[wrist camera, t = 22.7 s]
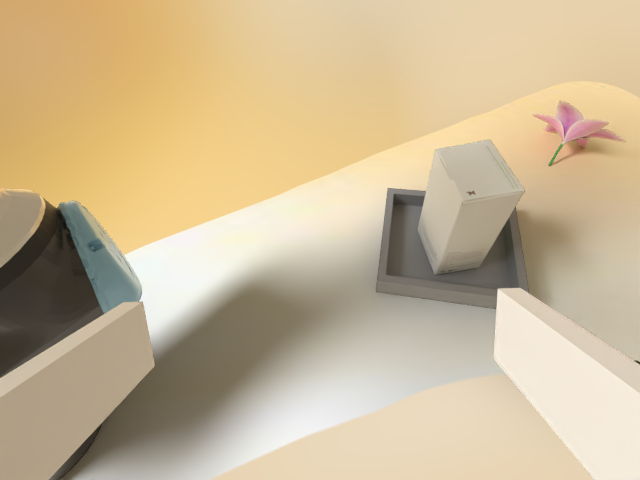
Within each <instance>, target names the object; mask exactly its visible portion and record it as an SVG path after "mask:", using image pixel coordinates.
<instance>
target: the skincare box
mask: <svg viewBox="0 0 640 480" xmlns="http://www.w3.org/2000/svg"><path fill="white" fill-rule="evenodd" d="M524 192H525V189H524V188H523V186H522V185H521V184H520V182H519V181H518V179H517V178H516V176H515V175H514V174H513V172H512V171H511V169H510V168H509V166H508V165H507V163H506V162H505V160H504V159H503V157H502V156H501V154H500V153H499V152H498V150H497V149H496V147H495V146H494V144H493V143H492V141H491V140H484V141H479V142H473V143H469V144H464V145H458V146H452V147H446V148H440V149H435V152H434V157H433V161H432V166H431V171H430V175H429V180H428V185H427V189H426V194H425V198H424V203H423V208H422V212H421V217H420V221H419V226H418V232H419V235H420V238H421V240H422V243H423V246H424V248H425V251H426V254H427V256H428V259H429V262H430V264H431V267H432V269H433V272H434V274H435V275H437V274H443V273H450V272H456V271H462V270H467V269H473V268H479V267H480V265H481V264H482V262H483V260H484V258H485V257H486V255H487V253H488V252H489V250H490V248H491V247H492V245H493V243H494V242H495V240H496V238H497V237H498V235H499V233H500V232H501V230H502V228H503V227H504V225H505V223H506V221H507V220H508V218H509V217H510V215H511V213H512V212H513V210H514V208H515V207H516V205H517V203H518V201H519V200H520V198H521V197H522V195H523V193H524Z"/></svg>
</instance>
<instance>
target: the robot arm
mask: <svg viewBox="0 0 640 480" xmlns="http://www.w3.org/2000/svg"><path fill="white" fill-rule="evenodd" d="M141 295H142V287H141V284H140V282H139V280H138V278H137V276H136V274H135V272H134V271H133V269H132V267H131V266H130V264H129V263H128V261H127V260H126V258H125V257H124V255H123V254H122V253H121V251H120V250H119V248H118V247H117V246H116V244H115V243H114V242H113V240H112V239H111V238H110V236H109V235H108V234H107V232H106V231H105V230H104V228H103V227H102V226H101V225H100V223H99V222H98V221H97V220H96V219H95V217H94V216H93V215H92V214H91V213H90V212H89V211H88V210H87V209H86V208H85V207H83V206H82V205H81V203H79V202H77V201H69V202H67V203H66V202H63V203H60V204H59V206H58V208H55V207H53V206H52V205H51V204H50V203H48V202H47V201H46V200H45V199H44V198H43V197H41V196H40V195H38V194H37V193H35V192H34V191H31V190H25V189H2V188H0V480H58V479H60V478H61V477H62V476H63V475H65V474H66V473H67V472H68V471H69V470H70V469H71V468H72V467H73V466H74V465H75V464H76V463H77V462H78V461H79V460H80V458H81V457H82V456H83V455H84V453H85V452H86V451H87V449H88V448H89V446H90V445H91V443H92V442H93V440H94V438H95V436H96V434H97V432H98V430H99V428H100V426H101V423H102V422H103V421H104V420H105V419H106V418H107V417H108V416H109V415H110V414H111V412H112V411H113V410H114V409H115V408H116V407H117V406H118V405H119V404H120V403H121V402H122V401H123V400H124V399H125V397H126V396H127V395H128V394H129V393H130V392H131V391H132V390H133V389H134V388H135V387H136V386H137V385H138V384H139V382H140V381H141V380H142V379H143V378H144V377H145V376H146V375H147V374H148V373H149V372H150V371H151V370H152V369H153V367H154V366H155V363H154V358H153V353H152V347H151V342H150V337H149V332H148V326H147V321H146V316H145V311H144V306H143V302H139V300H140V298H141ZM493 358H494V359H495V361H496V362H497V363H498V364H499V366H500V367H501V368H502V369H503V370H504V372H505V373H506V374H507V375H508V376H509V378H510V379H511V380H512V381H513V382H514V383H515V385H516V386H517V387H518V388H519V390H520V391H521V392H522V393H523V394H524V396H525V397H526V398H527V399H528V401H529V402H530V403H531V404H532V405H533V407H534V408H535V409H536V410H537V411H538V413H539V414H540V415H541V416H542V417H543V419H544V420H545V421H546V422H547V423H548V425H549V426H550V427H551V428H552V429H553V431H554V432H555V433H556V434H557V436H558V437H559V438H560V439H561V440H562V442H563V443H564V444H565V445H566V446H567V448H568V449H569V450H570V451H571V452H572V454H573V455H574V456H575V457H576V458H577V460H578V461H579V462H580V463H581V464H582V466H583V467H584V468H585V469H586V470H587V472H588V473H589V474H590V475H591V477H592V478H593V479H594V480H640V362H639V361H633V360H632V359H630V358H628V357H627V356H625V355H624V354H622V353H621V352H619V351H618V350H616V349H614V348H613V347H611V346H610V345H608V344H607V343H605V342H604V341H602V340H601V339H599V338H597V337H596V336H594V335H593V334H591V333H590V332H588V331H587V330H585V329H583V328H582V327H580V326H579V325H577V324H576V323H574V322H573V321H571V320H569V319H568V318H566V317H565V316H563V315H562V314H560V313H559V312H557V311H555V310H554V309H552V308H551V307H549V306H548V305H546V304H545V303H543V302H542V301H540V300H538V299H537V298H535V297H534V296H532V295H531V294H529V293H528V292H526V291H524V290H523V289H521V288H499V289H498V292H497V308H496V325H495V341H494V357H493Z"/></svg>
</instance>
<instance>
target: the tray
mask: <svg viewBox="0 0 640 480" xmlns="http://www.w3.org/2000/svg"><path fill="white" fill-rule="evenodd" d="M425 194H426V191H417V190H405V189H392V188H388V191H387V199H386V208H385V217H384V226H383V234H382V243H381V252H380V261H379V269H378V278H377V287H376V292H381V293H388V294H395V295H402V296H409V297H416V298H423V299H431V300H438V301H445V302H452V303H459V304H466V305H473V306H480V307H487V308H494V309H496V308H497V292H498V289H499V288H521V289H523V290H524V291H526V292H528V293H529V290H528V283H527V277H526V270H525V264H524V258H523V251H522V245H521V238H520V232H519V226H518V219H517V213H516V207H515V208H514V210H513V212H512V213H511V215H510V217H509V218H508V220H507V221H506V223H505V225H504V227H503V228H502V230H501V232H500V233H499V235H498V237H497V238H496V240H495V242H494V243H493V245H492V247H491V248H490V250H489V252H488V253H487V255H486V257H485V258H484V260H483V262H482V264H481V265H480V267H479V268H473V269H467V270H462V271H456V272H450V273H443V274H437V275H435V274H434V272H433V269H432V267H431V264H430V262H429V259H428V256H427V254H426V251H425V248H424V246H423V243H422V240H421V238H420V235H419V232H418V226H419V221H420V217H421V212H422V208H423V203H424V198H425Z"/></svg>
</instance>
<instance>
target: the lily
mask: <svg viewBox="0 0 640 480" xmlns="http://www.w3.org/2000/svg"><path fill="white" fill-rule="evenodd" d="M533 116H535V117H537V118H539V119H541V120H543V121H545V122H547V123H548V125H547V126H546V127H545V129H544V130H545V131H547V132H558V133H559V134H560V136H561V138H562V140H563V142H562V144H561V145H560V147H559V148H558V150H557V151H556V153H555V155H554V156H553V158H552V160H551V162H550V163H549V166H551V164H552V162H553V160H554V159H555V157H556V155H557V154H558V152H559V150H560V149H561V147H562V146H563V145H564V144H565V143H566V142H569V141H573V140H575V141H576V142H577V143H578V144H580V145H581V146H582V147H586V146H587V145H588V143H589V137H591V138H605V139H610V140H615V141H620V142H626V141H625V140H624V139H623V138H622V137H620V136H619V135H617V134H615V133H613V132H611V131H609V130H606V129H602V128H603V127H605V126H607V125H608V124H609V122H606V121H601V120H584V117H583V115H582V114H581V113H580V112H579V110H577V109H576V108H575V107H574V106H572V105H570V104H569V103H567V102H565V101H560V102H559V103H558V106H557V111H556V118H555V117H552V116H547V115H539V114H533ZM578 138H583V139H578Z"/></svg>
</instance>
